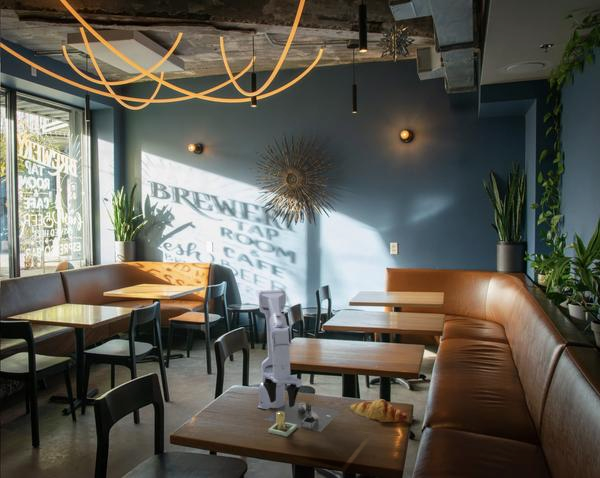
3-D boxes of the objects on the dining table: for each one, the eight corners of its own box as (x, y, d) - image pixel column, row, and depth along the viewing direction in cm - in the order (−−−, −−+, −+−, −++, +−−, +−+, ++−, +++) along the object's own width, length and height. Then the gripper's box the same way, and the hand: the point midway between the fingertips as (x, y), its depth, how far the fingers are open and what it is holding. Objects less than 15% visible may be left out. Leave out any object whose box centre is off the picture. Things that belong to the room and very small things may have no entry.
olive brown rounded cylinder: (274, 431, 165) (274, 413, 165) (279, 427, 168) (279, 410, 167) (281, 433, 164) (281, 415, 163) (287, 429, 166) (286, 412, 166)
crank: (296, 410, 180) (296, 397, 180) (303, 408, 181) (303, 396, 181) (312, 425, 168) (312, 411, 167) (320, 423, 169) (320, 410, 168)
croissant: (347, 424, 179) (342, 408, 175) (356, 402, 186) (352, 387, 182) (405, 434, 168) (401, 419, 165) (412, 411, 176) (408, 395, 172)
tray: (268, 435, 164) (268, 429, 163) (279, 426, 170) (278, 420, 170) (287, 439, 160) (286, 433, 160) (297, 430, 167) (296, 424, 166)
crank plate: (263, 422, 173) (263, 414, 173) (288, 403, 189) (288, 396, 189) (320, 434, 163) (320, 426, 163) (341, 413, 179) (341, 406, 179)
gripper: (256, 363, 164) (257, 403, 165) (293, 371, 156) (294, 412, 157) (269, 358, 170) (270, 396, 171) (304, 364, 162) (305, 404, 163)
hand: (282, 403), depth 165 cm, fingers open, 7 cm apart
